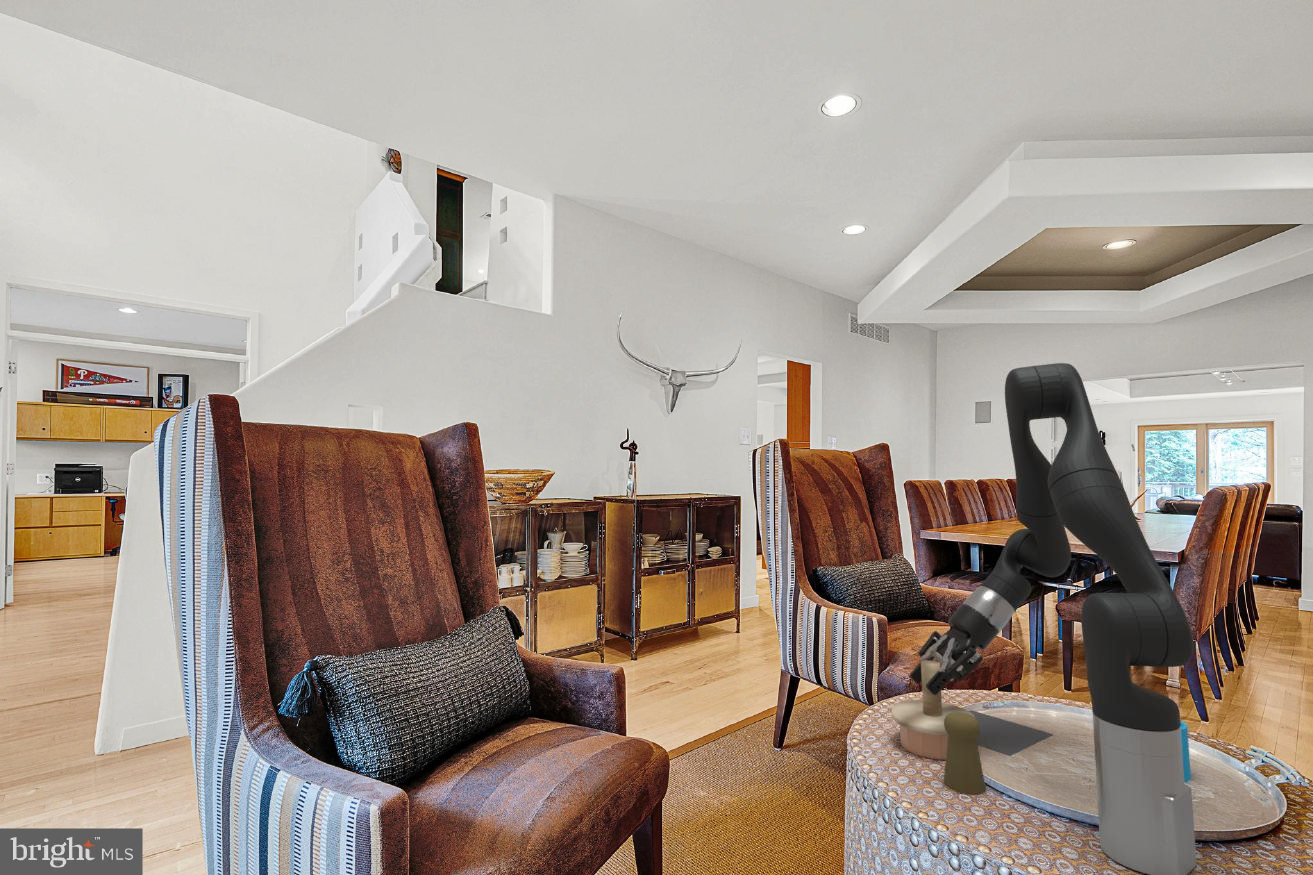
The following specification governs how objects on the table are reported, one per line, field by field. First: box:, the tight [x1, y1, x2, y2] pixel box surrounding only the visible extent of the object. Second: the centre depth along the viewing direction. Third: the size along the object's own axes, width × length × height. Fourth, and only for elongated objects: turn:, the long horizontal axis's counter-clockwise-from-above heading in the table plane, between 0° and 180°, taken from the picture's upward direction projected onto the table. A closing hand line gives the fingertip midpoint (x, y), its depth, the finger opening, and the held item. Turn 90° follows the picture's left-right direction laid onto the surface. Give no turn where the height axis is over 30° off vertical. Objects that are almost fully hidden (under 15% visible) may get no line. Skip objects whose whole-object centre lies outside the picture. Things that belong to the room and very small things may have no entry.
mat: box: [968, 709, 1054, 757], centre depth 123 cm, size 16×16×1 cm
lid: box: [891, 660, 975, 735], centre depth 117 cm, size 14×14×10 cm
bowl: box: [899, 724, 948, 761], centre depth 116 cm, size 11×11×5 cm
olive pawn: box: [943, 712, 987, 795], centre depth 102 cm, size 6×6×11 cm
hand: (921, 685), depth 117 cm, fingers open, 5 cm apart
